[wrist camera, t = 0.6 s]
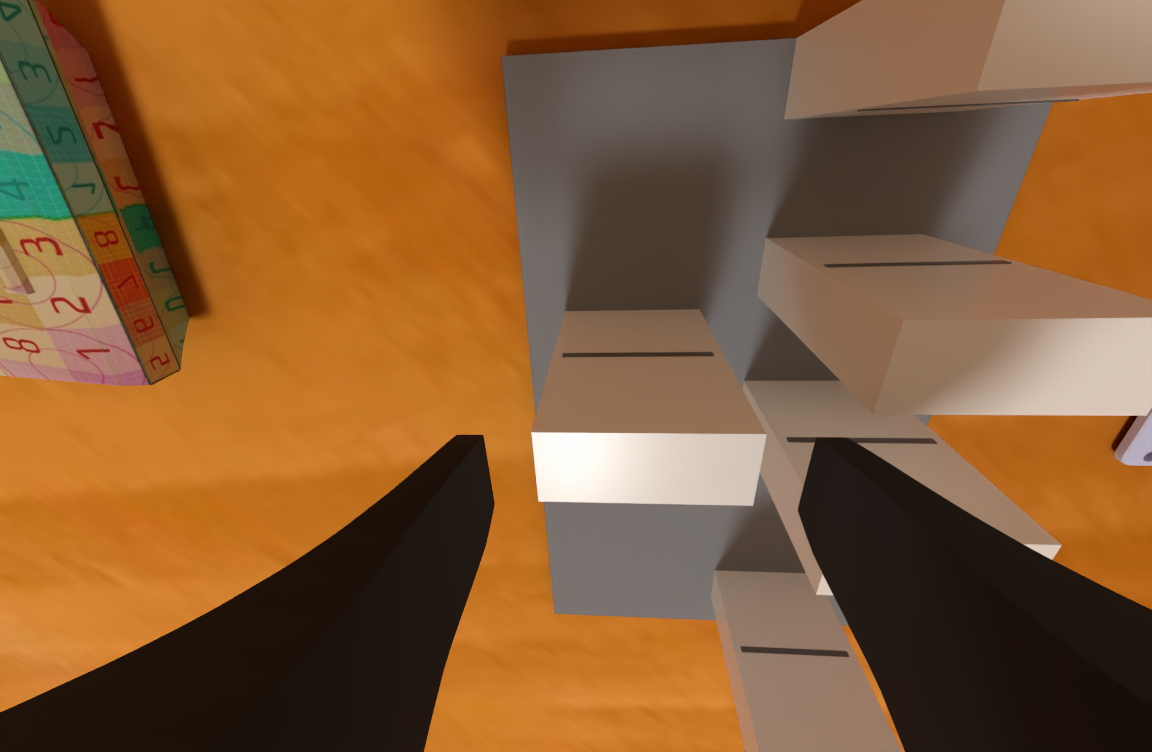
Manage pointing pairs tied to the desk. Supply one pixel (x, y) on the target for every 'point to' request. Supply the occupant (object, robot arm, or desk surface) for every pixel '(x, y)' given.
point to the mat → (714, 254)
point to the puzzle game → (74, 223)
